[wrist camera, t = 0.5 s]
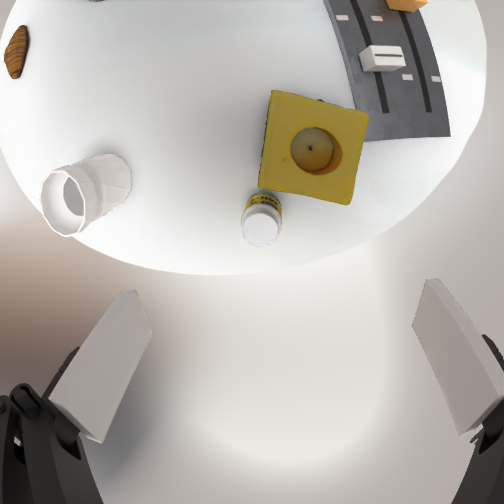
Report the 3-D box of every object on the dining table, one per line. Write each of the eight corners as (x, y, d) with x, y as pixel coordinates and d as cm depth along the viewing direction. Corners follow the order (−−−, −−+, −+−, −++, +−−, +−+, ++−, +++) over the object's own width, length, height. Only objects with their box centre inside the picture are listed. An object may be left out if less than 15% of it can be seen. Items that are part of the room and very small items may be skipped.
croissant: (30, 71, 27) (12, 71, 23) (12, 84, 28) (-5, 85, 24) (35, 18, 21) (19, 15, 17) (17, 33, 22) (1, 32, 18)
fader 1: (358, 54, 24) (370, 45, 20) (386, 54, 24) (400, 46, 20) (363, 71, 25) (376, 64, 21) (391, 71, 25) (406, 65, 21)
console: (312, -26, 20) (313, -33, 18) (398, -21, 18) (402, -25, 16) (361, 140, 32) (366, 141, 30) (443, 135, 29) (450, 136, 27)
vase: (94, 147, 34) (41, 161, 24) (138, 161, 35) (90, 180, 24) (85, 197, 38) (38, 223, 27) (126, 214, 39) (83, 247, 28)
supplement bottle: (281, 192, 36) (283, 211, 28) (280, 224, 38) (281, 251, 30) (246, 190, 36) (238, 209, 29) (246, 223, 38) (238, 249, 31)
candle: (270, 97, 30) (268, 86, 21) (346, 113, 30) (372, 110, 21) (258, 171, 35) (252, 188, 26) (331, 185, 35) (350, 207, 26)
